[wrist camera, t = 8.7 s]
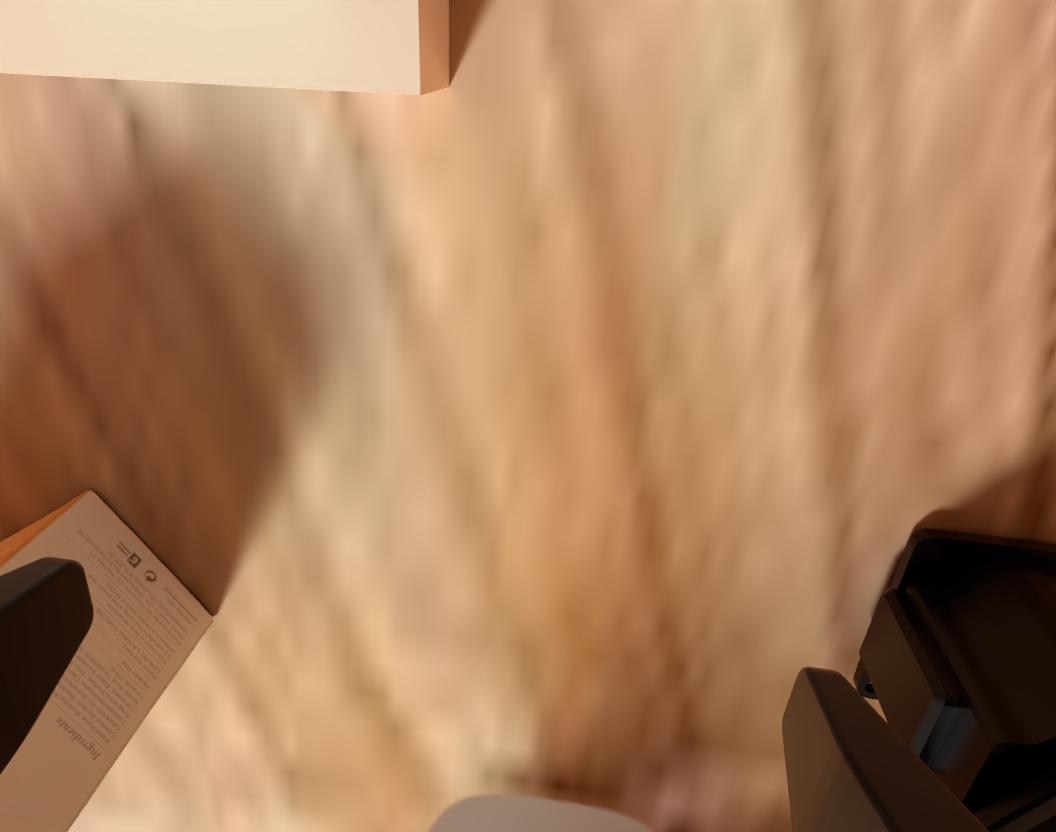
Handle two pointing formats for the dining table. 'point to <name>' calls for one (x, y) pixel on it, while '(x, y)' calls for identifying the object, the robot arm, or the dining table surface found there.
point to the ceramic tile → (234, 42)
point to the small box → (96, 662)
